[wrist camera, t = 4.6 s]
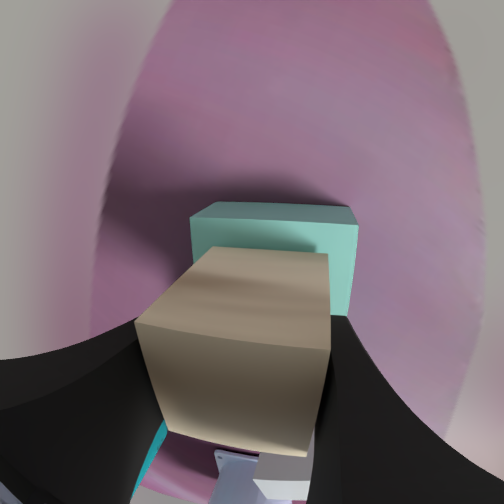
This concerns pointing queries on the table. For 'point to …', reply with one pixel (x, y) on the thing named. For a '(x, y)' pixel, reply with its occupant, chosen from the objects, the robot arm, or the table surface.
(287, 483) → the grey block
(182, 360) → the birch block
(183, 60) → the table surface
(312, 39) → the table surface
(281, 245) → the teal block
